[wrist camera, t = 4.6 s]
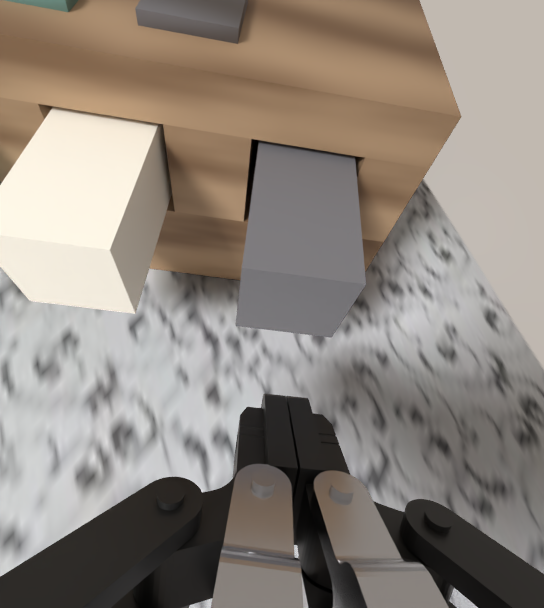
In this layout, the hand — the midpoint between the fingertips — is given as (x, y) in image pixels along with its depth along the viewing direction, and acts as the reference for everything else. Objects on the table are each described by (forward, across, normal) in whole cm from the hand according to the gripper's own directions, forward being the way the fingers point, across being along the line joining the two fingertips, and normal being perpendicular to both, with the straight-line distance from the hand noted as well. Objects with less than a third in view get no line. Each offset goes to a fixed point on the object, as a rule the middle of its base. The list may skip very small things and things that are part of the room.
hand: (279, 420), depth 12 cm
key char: (+7, 0, -6) cm, 9 cm away
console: (+15, +8, -6) cm, 18 cm away
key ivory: (+7, +8, -6) cm, 12 cm away
